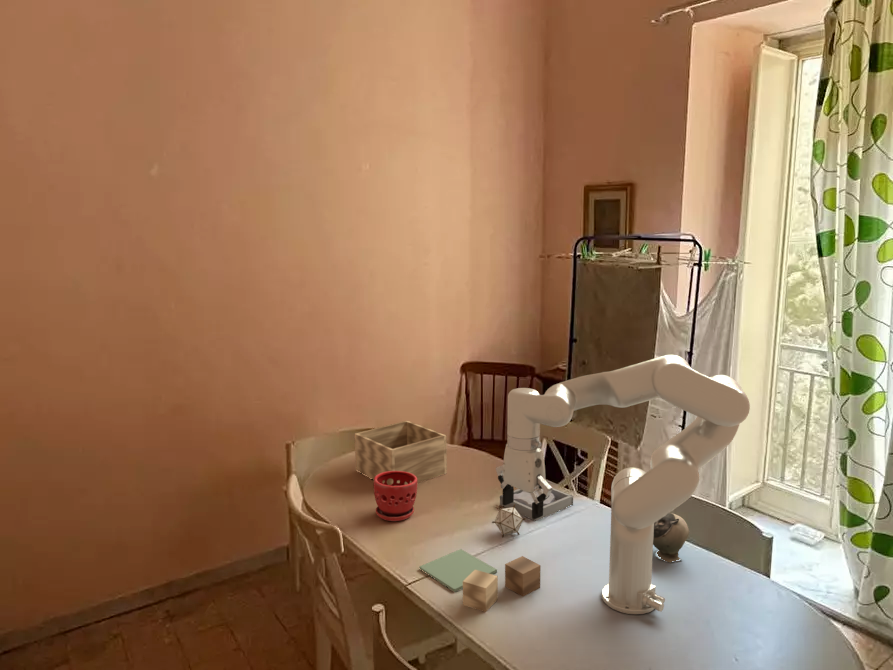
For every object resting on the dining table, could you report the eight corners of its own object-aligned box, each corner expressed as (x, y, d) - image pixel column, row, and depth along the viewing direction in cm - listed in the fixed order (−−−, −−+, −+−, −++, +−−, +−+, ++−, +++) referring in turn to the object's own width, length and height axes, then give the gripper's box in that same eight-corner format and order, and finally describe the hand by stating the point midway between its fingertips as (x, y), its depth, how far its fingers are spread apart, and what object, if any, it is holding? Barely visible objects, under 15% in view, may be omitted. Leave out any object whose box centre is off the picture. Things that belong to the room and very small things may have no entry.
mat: (496, 572, 169) (496, 569, 169) (454, 592, 160) (454, 589, 160) (460, 551, 180) (460, 548, 179) (419, 569, 171) (419, 566, 171)
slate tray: (573, 505, 208) (573, 495, 207) (535, 521, 197) (535, 511, 196) (537, 490, 219) (537, 481, 218) (499, 504, 208) (499, 495, 208)
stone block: (557, 508, 210) (532, 493, 217) (559, 495, 208) (534, 480, 215) (533, 521, 202) (508, 506, 208) (535, 508, 200) (510, 493, 207)
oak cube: (497, 599, 157) (497, 576, 156) (485, 612, 152) (485, 588, 151) (475, 592, 160) (475, 569, 159) (462, 605, 155) (462, 581, 154)
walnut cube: (540, 588, 162) (540, 565, 161) (522, 597, 158) (523, 573, 157) (522, 578, 166) (522, 555, 165) (505, 586, 162) (505, 564, 161)
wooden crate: (446, 473, 235) (446, 435, 232) (392, 490, 220) (391, 450, 218) (408, 456, 252) (407, 420, 250) (355, 471, 238) (354, 433, 235)
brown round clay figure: (639, 551, 179) (666, 568, 170) (640, 509, 177) (667, 524, 168) (668, 543, 183) (696, 560, 173) (669, 502, 181) (698, 516, 172)
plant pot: (392, 529, 193) (391, 489, 191) (366, 514, 203) (364, 477, 201) (426, 515, 202) (426, 477, 200) (400, 502, 212) (399, 466, 209)
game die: (513, 548, 189) (523, 531, 182) (485, 536, 190) (494, 518, 183) (522, 522, 195) (531, 505, 188) (495, 510, 196) (503, 492, 189)
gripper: (562, 447, 151) (560, 518, 154) (508, 429, 165) (508, 494, 168) (539, 455, 147) (538, 527, 150) (486, 435, 160) (486, 502, 163)
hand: (522, 510), depth 159 cm, fingers open, 9 cm apart
